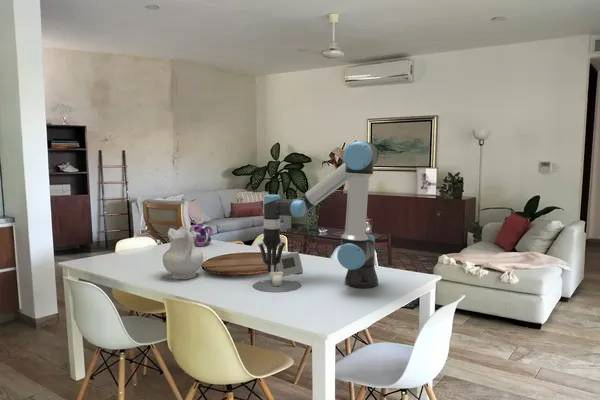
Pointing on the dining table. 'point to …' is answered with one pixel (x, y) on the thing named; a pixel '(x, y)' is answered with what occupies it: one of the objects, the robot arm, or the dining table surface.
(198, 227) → the sculpture
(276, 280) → the peg
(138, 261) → the dining table surface
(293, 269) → the digital clock
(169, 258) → the ceramic pitcher
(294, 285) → the grey flat disc
